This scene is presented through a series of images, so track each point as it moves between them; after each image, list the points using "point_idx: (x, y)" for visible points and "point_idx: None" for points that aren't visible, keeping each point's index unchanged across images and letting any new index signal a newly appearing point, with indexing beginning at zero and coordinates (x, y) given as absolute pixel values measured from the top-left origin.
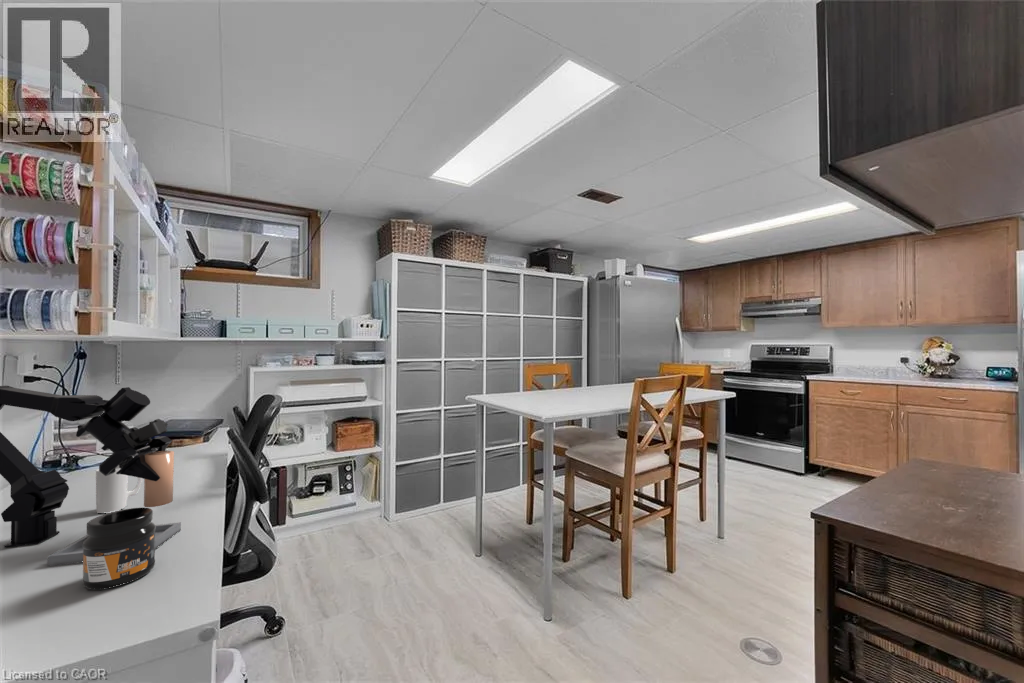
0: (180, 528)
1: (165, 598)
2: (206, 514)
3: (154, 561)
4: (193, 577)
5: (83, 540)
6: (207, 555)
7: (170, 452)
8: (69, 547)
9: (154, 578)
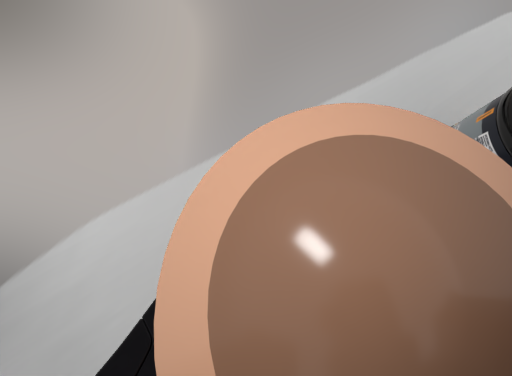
0: None
1: (501, 69)
2: (163, 206)
3: (451, 126)
4: (450, 65)
5: None
6: (385, 82)
7: (331, 134)
8: None
9: (462, 115)
